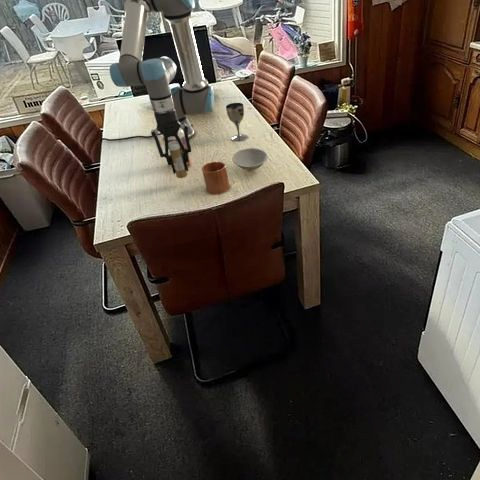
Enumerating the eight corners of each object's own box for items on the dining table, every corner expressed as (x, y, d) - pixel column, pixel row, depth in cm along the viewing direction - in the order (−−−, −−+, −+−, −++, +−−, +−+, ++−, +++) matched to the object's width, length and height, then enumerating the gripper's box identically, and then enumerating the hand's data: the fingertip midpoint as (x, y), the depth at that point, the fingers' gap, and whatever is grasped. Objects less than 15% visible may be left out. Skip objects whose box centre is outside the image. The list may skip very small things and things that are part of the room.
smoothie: (183, 172, 162) (171, 124, 149) (169, 168, 166) (156, 122, 153) (196, 163, 168) (185, 117, 154) (182, 160, 171) (170, 114, 158)
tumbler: (203, 193, 147) (198, 172, 141) (211, 182, 153) (206, 161, 147) (225, 194, 145) (221, 172, 139) (232, 183, 152) (228, 161, 146)
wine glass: (245, 141, 181) (240, 108, 171) (229, 141, 183) (223, 108, 173) (249, 134, 187) (245, 102, 177) (233, 134, 189) (228, 102, 179)
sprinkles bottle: (174, 175, 153) (165, 142, 144) (185, 172, 154) (177, 139, 145) (178, 180, 149) (169, 146, 140) (189, 176, 151) (181, 143, 142)
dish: (231, 162, 166) (229, 151, 162) (264, 156, 167) (263, 145, 164) (237, 181, 152) (235, 169, 149) (272, 174, 154) (271, 163, 151)
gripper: (138, 117, 131) (158, 179, 147) (189, 109, 133) (203, 171, 149) (139, 110, 136) (158, 170, 152) (188, 102, 138) (202, 162, 154)
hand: (180, 170), depth 150 cm, fingers closed on sprinkles bottle, 4 cm apart
